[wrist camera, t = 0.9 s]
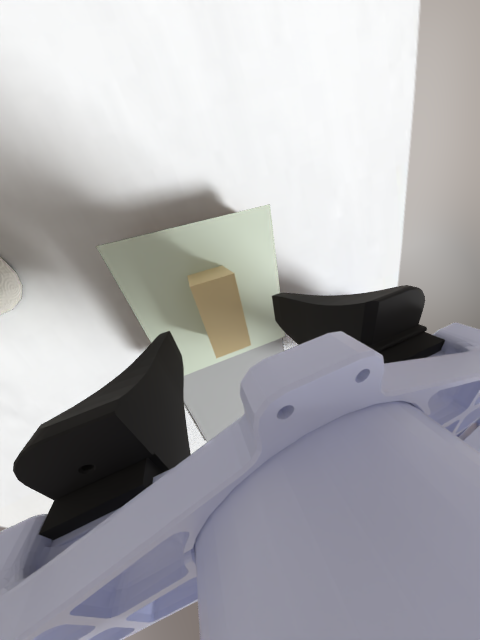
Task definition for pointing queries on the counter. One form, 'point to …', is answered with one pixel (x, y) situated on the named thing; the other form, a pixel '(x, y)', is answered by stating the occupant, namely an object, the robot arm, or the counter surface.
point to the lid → (203, 284)
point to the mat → (222, 389)
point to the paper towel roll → (9, 288)
